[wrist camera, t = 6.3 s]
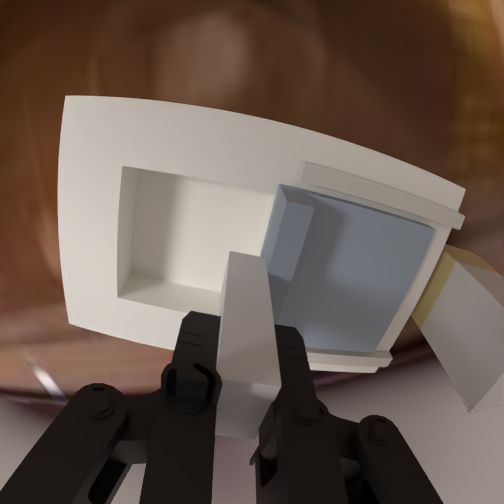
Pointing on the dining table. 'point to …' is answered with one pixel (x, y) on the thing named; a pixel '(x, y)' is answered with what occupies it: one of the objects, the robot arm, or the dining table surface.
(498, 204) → the dining table surface
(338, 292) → the shutter
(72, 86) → the dining table surface
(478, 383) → the plug
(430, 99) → the dining table surface
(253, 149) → the socket
